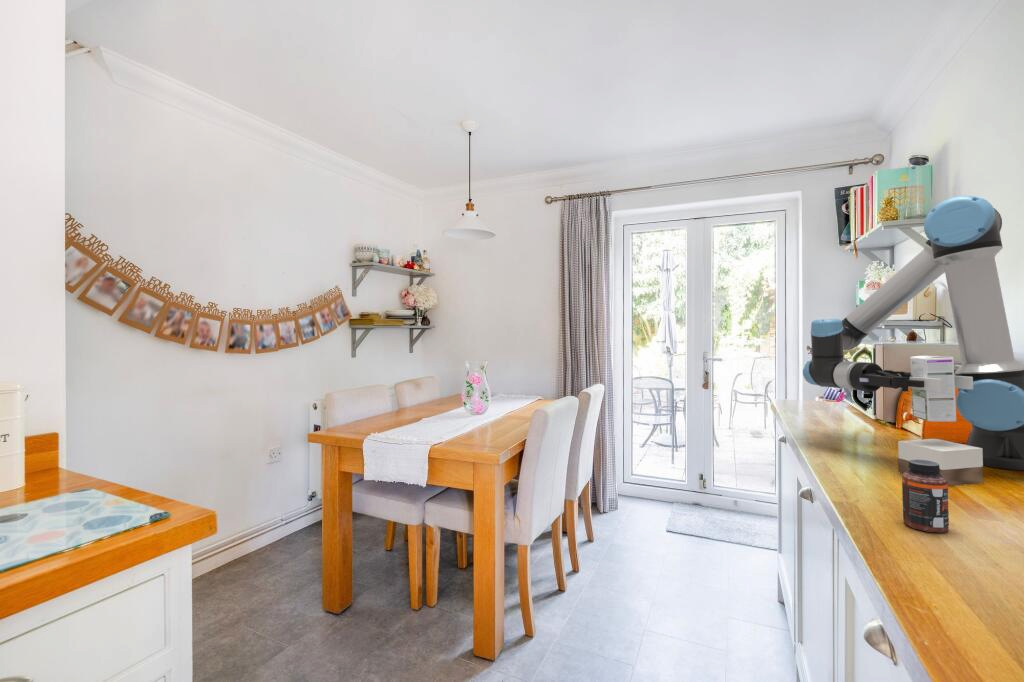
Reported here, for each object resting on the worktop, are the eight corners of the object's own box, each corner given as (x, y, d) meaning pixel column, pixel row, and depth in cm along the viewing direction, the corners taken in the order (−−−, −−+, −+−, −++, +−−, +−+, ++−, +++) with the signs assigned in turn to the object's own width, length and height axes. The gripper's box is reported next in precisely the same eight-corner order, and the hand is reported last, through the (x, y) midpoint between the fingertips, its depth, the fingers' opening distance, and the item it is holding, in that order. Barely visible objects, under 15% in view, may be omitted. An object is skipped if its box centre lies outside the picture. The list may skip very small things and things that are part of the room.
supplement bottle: (953, 537, 76) (951, 468, 76) (906, 530, 79) (904, 464, 79) (944, 524, 81) (942, 459, 81) (900, 518, 84) (898, 456, 84)
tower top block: (935, 455, 111) (934, 438, 111) (982, 466, 101) (982, 448, 101) (898, 458, 110) (898, 441, 110) (943, 469, 100) (942, 451, 100)
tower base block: (938, 472, 111) (937, 455, 111) (982, 485, 101) (982, 466, 101) (898, 474, 110) (897, 457, 110) (939, 487, 100) (939, 469, 100)
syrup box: (957, 421, 102) (956, 356, 102) (926, 421, 104) (924, 357, 103) (940, 417, 108) (938, 355, 108) (910, 417, 109) (908, 355, 109)
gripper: (891, 387, 125) (993, 398, 103) (827, 392, 121) (919, 404, 99) (890, 360, 125) (992, 364, 103) (826, 364, 121) (918, 369, 99)
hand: (956, 384), depth 101 cm, fingers closed on syrup box, 7 cm apart
